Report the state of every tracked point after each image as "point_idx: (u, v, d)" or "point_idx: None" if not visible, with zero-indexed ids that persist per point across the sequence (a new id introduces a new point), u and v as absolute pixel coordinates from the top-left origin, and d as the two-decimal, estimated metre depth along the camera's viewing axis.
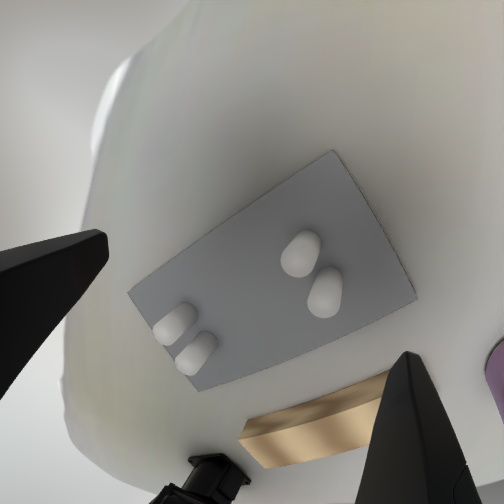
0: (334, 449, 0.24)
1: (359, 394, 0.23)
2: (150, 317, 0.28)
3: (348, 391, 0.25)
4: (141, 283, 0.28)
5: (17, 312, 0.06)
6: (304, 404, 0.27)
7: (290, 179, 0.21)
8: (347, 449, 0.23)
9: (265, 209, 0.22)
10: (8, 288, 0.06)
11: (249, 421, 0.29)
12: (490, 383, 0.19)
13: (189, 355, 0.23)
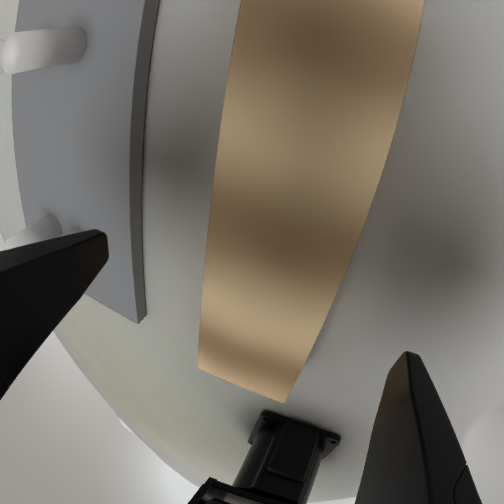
0: (320, 278, 0.11)
1: None
2: None
3: None
4: None
5: (17, 312, 0.06)
6: None
7: None
8: (344, 257, 0.10)
9: None
10: (8, 288, 0.06)
11: None
12: None
13: None
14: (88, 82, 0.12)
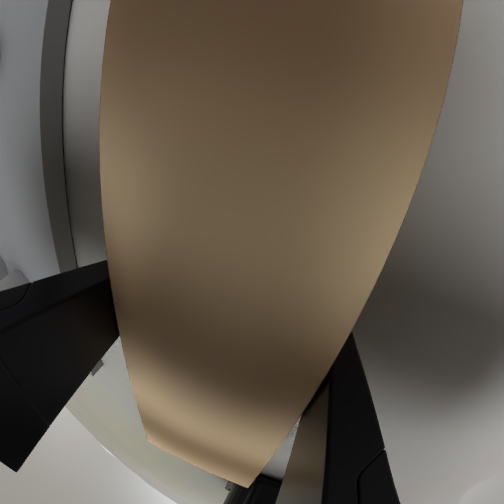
0: (273, 402, 0.07)
1: None
2: None
3: None
4: None
5: (62, 349, 0.06)
6: None
7: None
8: (307, 386, 0.06)
9: None
10: (53, 325, 0.05)
11: None
12: None
13: None
14: (2, 104, 0.08)
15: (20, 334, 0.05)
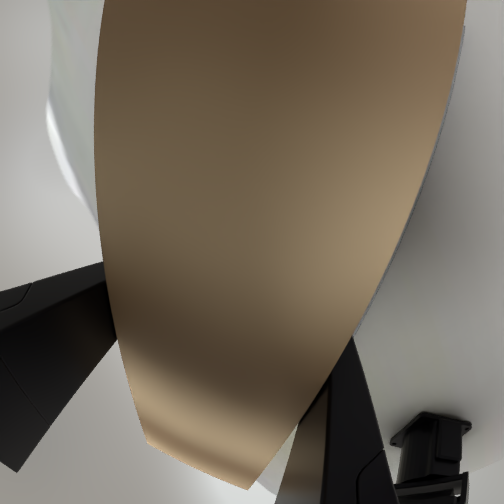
0: (272, 406, 0.07)
1: None
2: None
3: None
4: None
5: (63, 350, 0.06)
6: None
7: None
8: (307, 390, 0.06)
9: None
10: (53, 325, 0.05)
11: None
12: None
13: None
14: None
15: (21, 335, 0.05)
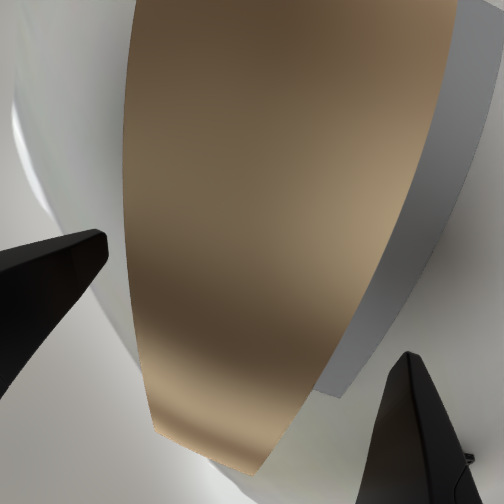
0: (282, 382, 0.07)
1: None
2: None
3: None
4: None
5: (17, 312, 0.06)
6: None
7: None
8: (316, 364, 0.06)
9: None
10: (8, 288, 0.06)
11: None
12: None
13: None
14: None
15: None
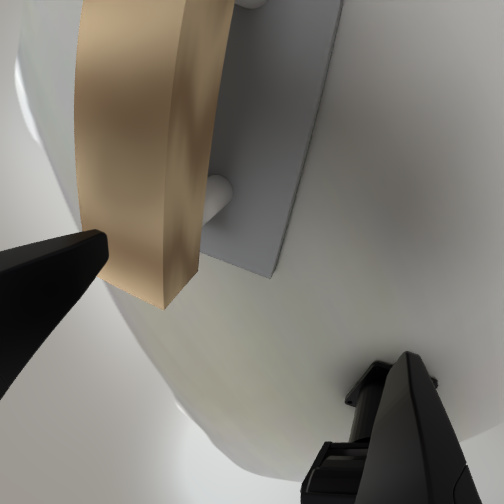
0: (151, 133, 0.10)
1: None
2: None
3: None
4: None
5: (17, 312, 0.06)
6: None
7: None
8: (165, 105, 0.09)
9: None
10: (8, 288, 0.06)
11: None
12: None
13: None
14: (270, 29, 0.13)
15: None
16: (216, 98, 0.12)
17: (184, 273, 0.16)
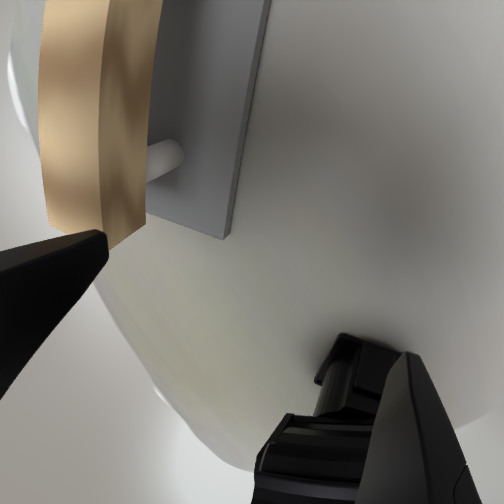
0: (88, 85, 0.11)
1: None
2: None
3: None
4: None
5: (17, 312, 0.06)
6: None
7: None
8: (98, 60, 0.10)
9: None
10: (8, 288, 0.06)
11: None
12: None
13: None
14: (210, 3, 0.14)
15: None
16: (152, 59, 0.13)
17: (128, 221, 0.16)
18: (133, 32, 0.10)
